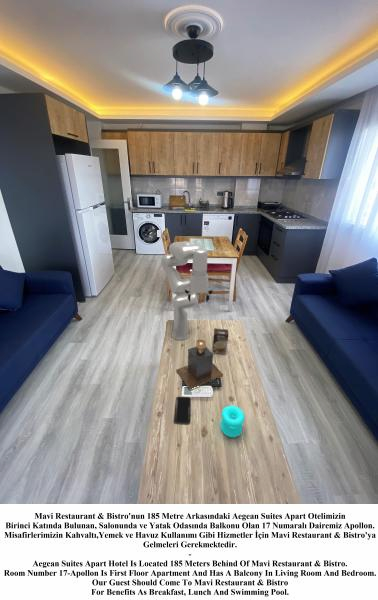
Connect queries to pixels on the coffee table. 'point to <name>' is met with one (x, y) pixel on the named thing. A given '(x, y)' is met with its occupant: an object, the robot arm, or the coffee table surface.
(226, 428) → the donuts
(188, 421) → the phone
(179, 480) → the coffee table surface
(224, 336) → the coffee box
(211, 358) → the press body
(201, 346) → the plunger
